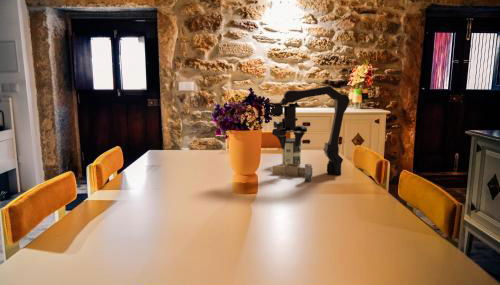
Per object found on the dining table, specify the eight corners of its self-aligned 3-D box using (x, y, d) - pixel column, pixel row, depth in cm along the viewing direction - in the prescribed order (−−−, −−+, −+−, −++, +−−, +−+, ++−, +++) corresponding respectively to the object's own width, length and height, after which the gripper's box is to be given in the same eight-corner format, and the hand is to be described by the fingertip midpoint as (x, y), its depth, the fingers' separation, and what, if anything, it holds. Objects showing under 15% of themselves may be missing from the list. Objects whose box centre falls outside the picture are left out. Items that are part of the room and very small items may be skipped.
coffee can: (299, 162, 208) (300, 138, 205) (301, 167, 197) (302, 141, 195) (281, 162, 208) (281, 138, 205) (282, 167, 198) (282, 141, 195)
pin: (311, 180, 172) (312, 164, 170) (310, 182, 169) (311, 165, 167) (305, 180, 173) (305, 163, 171) (304, 182, 170) (304, 165, 168)
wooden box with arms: (312, 174, 183) (313, 164, 182) (311, 178, 176) (311, 167, 176) (274, 171, 188) (274, 162, 187) (271, 175, 182) (271, 165, 181)
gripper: (292, 113, 191) (291, 143, 194) (264, 116, 180) (265, 147, 183) (307, 115, 183) (307, 146, 185) (280, 118, 171) (280, 151, 174)
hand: (289, 147), depth 182 cm, fingers open, 9 cm apart
